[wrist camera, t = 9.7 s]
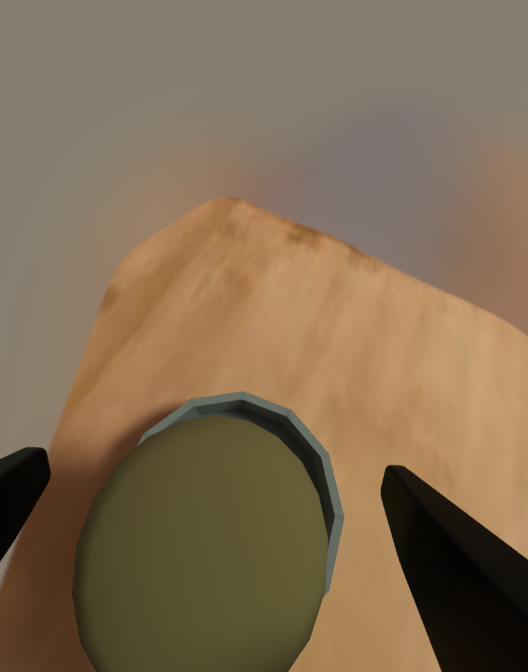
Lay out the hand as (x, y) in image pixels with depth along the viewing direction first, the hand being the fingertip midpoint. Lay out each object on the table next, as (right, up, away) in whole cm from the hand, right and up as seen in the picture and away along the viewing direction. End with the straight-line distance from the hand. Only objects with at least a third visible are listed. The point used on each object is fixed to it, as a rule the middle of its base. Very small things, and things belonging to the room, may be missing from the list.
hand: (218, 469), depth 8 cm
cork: (0, -5, +7) cm, 9 cm away
